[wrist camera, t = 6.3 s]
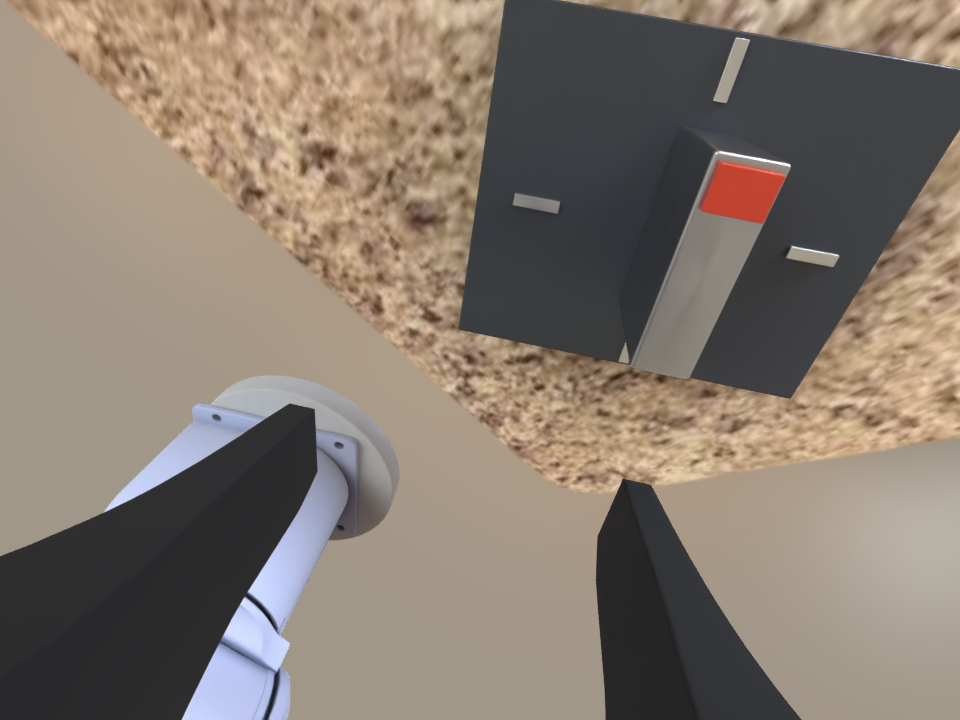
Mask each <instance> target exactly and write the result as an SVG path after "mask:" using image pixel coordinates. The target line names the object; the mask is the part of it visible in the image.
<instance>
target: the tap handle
mask: <svg viewBox="0 0 960 720" xmlns="http://www.w3.org/2000/svg"><path fill="white" fill-rule="evenodd" d="M790 169H791V165H790V164H789V163H788V162H786V161H784V160H782V159H780V158H778V157H776V156H774V155H772V154H770V153H768V152H766V151H764V150H762V149H760V148H758V147H756V146H754V145H752V144H751V143H749V142H747V141H745V140H743V139H741V138H739V137H737V136H733V135H728V134H723V133H717V132H712V131H707V130H702V129H697V128H691V127H686V126H682V127H680V129H679V131H678V134H677V136H676V139H675V142H674V145H673V148H672V151H671V154H670V157H669V159H668V162H667V165H666V168H665V171H664V174H663V177H662V180H661V182H660V185H659V188H658V191H657V194H656V197H655V200H654V203H653V205H652V208H651V211H650V214H649V217H648V220H647V223H646V226H645V228H644V231H643V234H642V237H641V240H640V243H639V246H638V249H637V251H636V254H635V257H634V260H633V263H632V266H631V269H630V272H629V275H628V277H627V280H626V283H625V286H624V289H623V292H622V295H621V298H620V300H619V308H620V314H621V319H622V324H623V330H624V335H625V341H626V346H627V352H628V357H629V362H630V367H632V368H634V369H638V370H643V371H648V372H652V373H657V374H661V375H666V376H671V377H675V378H680V379H684V380H688V379H689V378H690V376H691V374H692V372H693V370H694V368H695V366H696V364H697V362H698V360H699V357H700V355H701V353H702V351H703V349H704V347H705V345H706V343H707V341H708V339H709V337H710V335H711V333H712V330H713V328H714V326H715V324H716V322H717V320H718V318H719V316H720V314H721V312H722V310H723V308H724V306H725V304H726V301H727V299H728V297H729V295H730V293H731V291H732V289H733V287H734V285H735V283H736V281H737V279H738V277H739V275H740V272H741V270H742V268H743V266H744V264H745V262H746V260H747V258H748V256H749V254H750V252H751V250H752V248H753V246H754V243H755V241H756V239H757V237H758V235H759V233H760V231H761V229H762V227H763V225H764V223H765V221H766V219H767V216H768V214H769V212H770V210H771V208H772V206H773V204H774V202H775V200H776V198H777V196H778V194H779V192H780V190H781V187H782V185H783V183H784V181H785V179H786V177H787V175H788V173H789V171H790Z"/></svg>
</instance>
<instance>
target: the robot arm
mask: <svg viewBox="0 0 960 720" xmlns="http://www.w3.org/2000/svg"><path fill="white" fill-rule="evenodd" d="M192 415H193V419H194V421H192V422H191V423H190V424H189V425H188V426H187V427H186V428H185V429H184V430H183V431H182V432H181V433H180V434H179V435H178V436H177V437H176V438H175V439H174V440H173V441H172V442H171V443H170V444H169V445H168V446H167V447H166V448H165V449H163V451H161V453H159V454H158V455H157V456H156V457H155V458H154V459H153V460H152V461H151V462H150V463H149V464H148V465H147V466H146V467H145V468H144V469H143V470H142V471H141V472H140V473H139V474H138V475H137V476H136V477H135V478H134V479H133V480H132V481H131V482H130V483H128V484H127V485H126V486H125V487H124V488H123V489H122V490H121V491H120V492H119V493H118V494H117V496H116V497H115V498H114V499H113V500H112V502H111V503H110V504H109V505H108V507H107V508H106V510H105V511H104V513H102V514H100V515H98V516H96V517H93V518H91V519H89V520H87V521H84V522H82V523H80V524H77V525H75V526H73V527H71V528H68V529H66V530H63V531H61V532H59V533H57V534H54V535H52V536H49V537H47V538H45V539H42V540H40V541H38V542H36V543H33V544H31V545H28V546H26V547H23V548H21V549H18V550H15V551H13V552H10V553H8V554H5V555H3V556H0V720H287V719H288V714H289V709H290V678H289V674H288V673H287V671H285V670H284V669H283V668H281V667H280V665H281V663H282V661H283V659H284V656H285V654H286V652H287V650H288V648H289V646H290V643H289V642H288V641H286V640H285V639H283V638H282V637H281V634H282V632H283V629H284V628H285V626H286V624H287V622H288V619H289V618H290V616H291V613H292V612H293V610H294V608H295V606H296V604H297V602H298V599H299V598H300V596H301V594H302V592H303V590H304V588H305V585H306V584H307V582H308V580H309V578H310V575H311V574H312V571H313V570H314V568H315V565H316V564H317V562H318V560H319V557H320V556H321V554H322V552H323V550H324V548H325V546H326V544H327V542H328V540H329V538H330V536H331V534H332V532H333V531H337V532H341V533H345V534H354V533H356V530H357V528H358V481H359V443H358V441H357V440H356V439H355V438H353V437H350V436H346V435H341V434H337V433H332V432H328V431H323V430H319V429H316V427H315V409H312V408H307V407H303V406H298V405H294V404H288V405H287V406H285V407H283V408H282V409H280V410H279V411H277V412H275V413H274V414H272V415H271V416H269V417H268V418H265V417H261V416H256V415H252V414H247V413H243V412H239V411H234V410H230V409H225V408H221V407H216V406H212V405H207V404H203V403H198V404H196V405H195V406H194V407H193V408H192ZM339 442H340V443H342V444H340V443H339ZM596 565H597V566H596V587H597V601H598V614H599V626H600V638H601V650H602V662H603V674H604V686H605V708H606V720H801V719H800V718H799V716H798V715H797V714H796V712H795V711H794V710H793V709H792V708H791V706H790V705H789V704H788V703H787V701H786V700H785V699H784V698H783V696H782V695H781V694H780V692H779V691H778V690H777V689H776V687H775V686H774V685H773V683H772V682H771V681H770V679H769V678H768V677H767V675H766V674H765V672H764V671H763V670H762V668H761V667H760V666H759V664H758V663H757V662H756V660H755V659H754V658H753V656H752V655H751V653H750V652H749V651H748V649H747V648H746V646H745V645H744V643H743V642H742V641H741V639H740V638H739V636H738V635H737V633H736V632H735V630H734V629H733V627H732V626H731V624H730V623H729V621H728V619H727V618H726V616H725V615H724V613H723V612H722V610H721V609H720V607H719V606H718V604H717V602H716V601H715V599H714V598H713V596H712V594H711V593H710V591H709V589H708V588H707V586H706V584H705V583H704V581H703V579H702V578H701V576H700V574H699V572H698V571H697V569H696V567H695V566H694V564H693V562H692V560H691V559H690V557H689V555H688V553H687V552H686V550H685V548H684V546H683V545H682V543H681V541H680V540H679V537H678V536H677V533H676V532H675V530H674V528H673V526H672V524H671V522H670V520H669V518H668V517H667V515H666V513H665V511H664V509H663V507H662V505H661V503H660V501H659V499H658V497H657V495H656V494H655V492H654V490H653V488H652V487H651V485H649V484H644V483H640V482H635V481H631V480H627V479H623V480H622V483H621V485H620V487H619V489H618V492H617V494H616V496H615V498H614V501H613V503H612V505H611V508H610V510H609V512H608V514H607V516H606V519H605V521H604V523H603V525H602V528H601V530H600V532H599V534H598V540H597V563H596Z"/></svg>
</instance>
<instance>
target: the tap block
mask: <svg viewBox="0 0 960 720" xmlns="http://www.w3.org/2000/svg"><path fill="white" fill-rule="evenodd" d="M682 126H686V127H691V128H697V129H702V130H707V131H712V132H717V133H723V134H728V135H733V136H737V137H739V138H741V139H743V140H745V141H747V142H749V143H751V144H752V145H754V146H756V147H758V148H760V149H762V150H764V151H766V152H768V153H770V154H772V155H774V156H776V157H778V158H780V159H782V160H784V161H786V162H788V163H789V164H790V165H791V169H790V171H789V173H788V175H787V177H786V179H785V181H784V183H783V185H782V187H781V190H780V192H779V194H778V196H777V198H776V200H775V202H774V204H773V206H772V208H771V210H770V212H769V214H768V216H767V219H766V221H765V223H764V225H763V227H762V229H761V231H760V233H759V235H758V237H757V239H756V241H755V243H754V246H753V248H752V250H751V252H750V254H749V256H748V258H747V260H746V262H745V264H744V266H743V268H742V270H741V272H740V275H739V277H738V279H737V281H736V283H735V285H734V287H733V289H732V291H731V293H730V295H729V297H728V299H727V301H726V304H725V306H724V308H723V310H722V312H721V314H720V316H719V318H718V320H717V322H716V324H715V326H714V328H713V330H712V333H711V335H710V337H709V339H708V341H707V343H706V345H705V347H704V349H703V351H702V353H701V355H700V357H699V360H698V362H697V364H696V366H695V368H694V370H693V372H692V374H691V376H690V378H694V379H698V380H703V381H708V382H713V383H717V384H722V385H727V386H732V387H737V388H741V389H746V390H751V391H756V392H760V393H765V394H770V395H775V396H780V397H784V398H789V399H790V398H791V397H792V395H793V394H794V392H795V391H796V389H797V387H798V386H799V384H800V383H801V381H802V380H803V378H804V376H805V375H806V373H807V372H808V370H809V368H810V367H811V365H812V364H813V362H814V360H815V359H816V357H817V356H818V354H819V352H820V351H821V349H822V348H823V346H824V344H825V343H826V341H827V340H828V338H829V336H830V335H831V333H832V332H833V330H834V329H835V327H836V325H837V324H838V322H839V321H840V319H841V317H842V316H843V314H844V313H845V311H846V309H847V308H848V306H849V305H850V303H851V301H852V300H853V298H854V297H855V295H856V293H857V292H858V290H859V289H860V287H861V285H862V284H863V282H864V281H865V279H866V278H867V276H868V274H869V273H870V271H871V270H872V268H873V266H874V265H875V263H876V262H877V260H878V258H879V257H880V255H881V254H882V252H883V250H884V249H885V247H886V246H887V244H888V242H889V241H890V239H891V238H892V236H893V235H894V233H895V231H896V230H897V228H898V227H899V225H900V223H901V222H902V220H903V219H904V217H905V215H906V214H907V212H908V211H909V209H910V207H911V206H912V204H913V203H914V201H915V199H916V198H917V196H918V195H919V193H920V191H921V190H922V188H923V187H924V185H925V184H926V182H927V180H928V179H929V177H930V176H931V174H932V172H933V171H934V169H935V168H936V166H937V164H938V163H939V161H940V160H941V158H942V156H943V155H944V153H945V152H946V150H947V148H948V147H949V145H950V144H951V142H952V140H953V139H954V137H955V136H956V134H957V133H958V131H959V129H960V68H955V67H949V66H943V65H937V64H931V63H925V62H919V61H914V60H908V59H902V58H896V57H890V56H884V55H878V54H872V53H866V52H860V51H855V50H849V49H843V48H837V47H831V46H825V45H819V44H813V43H807V42H802V41H796V40H790V39H784V38H778V37H772V36H766V35H760V34H754V33H748V32H743V31H737V30H731V29H725V28H719V27H713V26H707V25H701V24H695V23H690V22H684V21H678V20H672V19H666V18H660V17H654V16H648V15H642V14H636V13H631V12H625V11H619V10H613V9H607V8H601V7H595V6H589V5H583V4H578V3H572V2H566V1H560V0H505V3H504V10H503V17H502V24H501V32H500V39H499V46H498V53H497V60H496V67H495V74H494V81H493V88H492V96H491V103H490V110H489V117H488V124H487V131H486V138H485V145H484V152H483V160H482V167H481V174H480V181H479V188H478V195H477V202H476V209H475V216H474V224H473V231H472V238H471V245H470V252H469V259H468V266H467V273H466V280H465V288H464V295H463V302H462V309H461V316H460V323H459V329H460V330H464V331H469V332H474V333H478V334H483V335H488V336H493V337H497V338H502V339H507V340H512V341H517V342H521V343H526V344H531V345H536V346H541V347H545V348H550V349H555V350H560V351H564V352H569V353H574V354H579V355H584V356H588V357H593V358H598V359H603V360H607V361H612V362H617V363H622V364H627V365H630V362H629V357H628V352H627V346H626V341H625V335H624V330H623V324H622V319H621V314H620V308H619V300H620V298H621V295H622V292H623V289H624V286H625V283H626V280H627V277H628V275H629V272H630V269H631V266H632V263H633V260H634V257H635V254H636V251H637V249H638V246H639V243H640V240H641V237H642V234H643V231H644V228H645V226H646V223H647V220H648V217H649V214H650V211H651V208H652V205H653V203H654V200H655V197H656V194H657V191H658V188H659V185H660V182H661V180H662V177H663V174H664V171H665V168H666V165H667V162H668V159H669V157H670V154H671V151H672V148H673V145H674V142H675V139H676V136H677V134H678V131H679V129H680V127H682Z"/></svg>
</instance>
